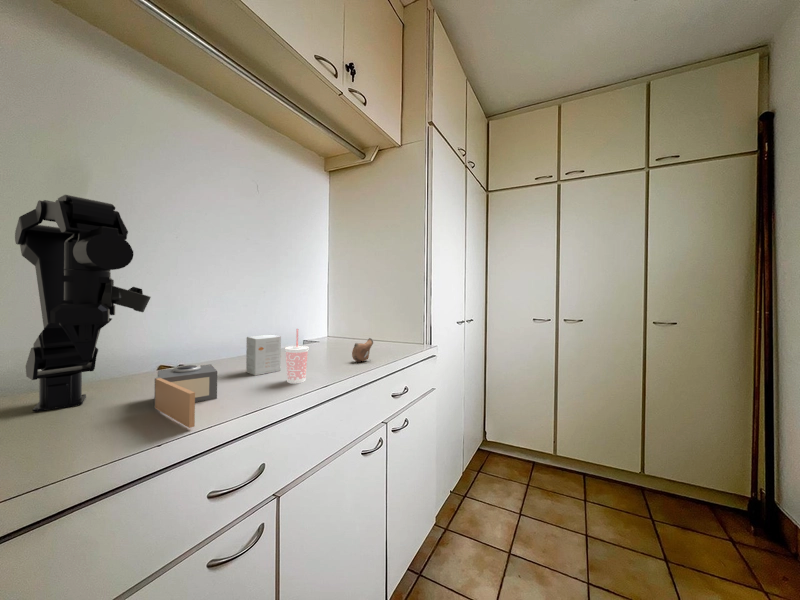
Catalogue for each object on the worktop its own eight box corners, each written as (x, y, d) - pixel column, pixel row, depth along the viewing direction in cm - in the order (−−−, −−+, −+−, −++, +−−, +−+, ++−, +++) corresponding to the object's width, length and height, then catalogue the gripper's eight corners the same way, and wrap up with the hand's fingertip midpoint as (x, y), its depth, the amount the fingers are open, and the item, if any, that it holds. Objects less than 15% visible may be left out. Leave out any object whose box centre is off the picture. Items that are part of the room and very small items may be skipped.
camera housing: (157, 397, 67) (157, 367, 66) (210, 389, 73) (211, 361, 73) (159, 408, 60) (159, 375, 60) (217, 398, 67) (217, 368, 67)
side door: (159, 406, 60) (159, 377, 60) (194, 426, 52) (195, 392, 52) (153, 407, 60) (153, 378, 59) (188, 428, 51) (189, 393, 51)
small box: (271, 367, 95) (272, 334, 95) (281, 370, 92) (281, 336, 92) (245, 372, 89) (246, 336, 89) (254, 376, 86) (255, 338, 85)
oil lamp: (369, 358, 112) (370, 337, 112) (376, 360, 109) (377, 338, 109) (349, 362, 106) (350, 339, 105) (356, 364, 103) (357, 340, 103)
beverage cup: (279, 382, 80) (280, 329, 80) (294, 376, 86) (295, 327, 85) (298, 385, 78) (299, 330, 77) (313, 379, 83) (314, 328, 83)
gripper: (148, 271, 52) (147, 363, 52) (147, 275, 66) (146, 347, 66) (49, 266, 44) (49, 373, 45) (71, 272, 59) (71, 352, 59)
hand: (87, 359), depth 54 cm, fingers closed
